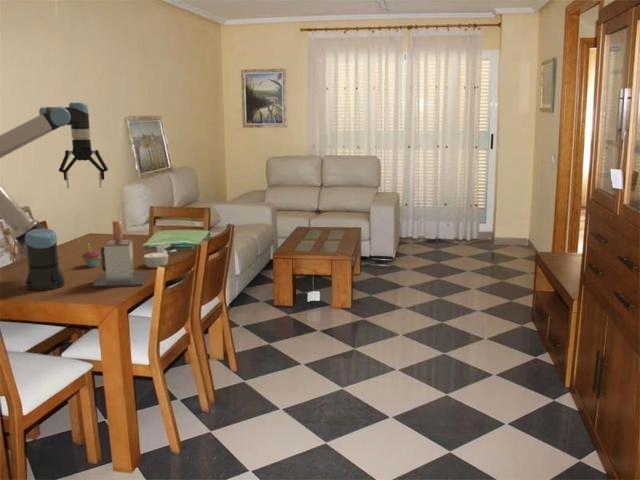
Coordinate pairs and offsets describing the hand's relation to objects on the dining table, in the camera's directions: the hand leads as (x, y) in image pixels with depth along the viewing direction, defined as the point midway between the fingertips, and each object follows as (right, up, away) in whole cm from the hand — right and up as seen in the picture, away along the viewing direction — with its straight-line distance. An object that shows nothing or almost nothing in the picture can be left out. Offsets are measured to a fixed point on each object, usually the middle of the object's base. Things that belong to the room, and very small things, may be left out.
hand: (85, 187), depth 269 cm
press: (+18, -41, -6) cm, 45 cm away
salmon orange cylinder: (+18, -39, -6) cm, 43 cm away
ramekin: (+26, -36, +21) cm, 49 cm away
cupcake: (-4, -36, +20) cm, 41 cm away
